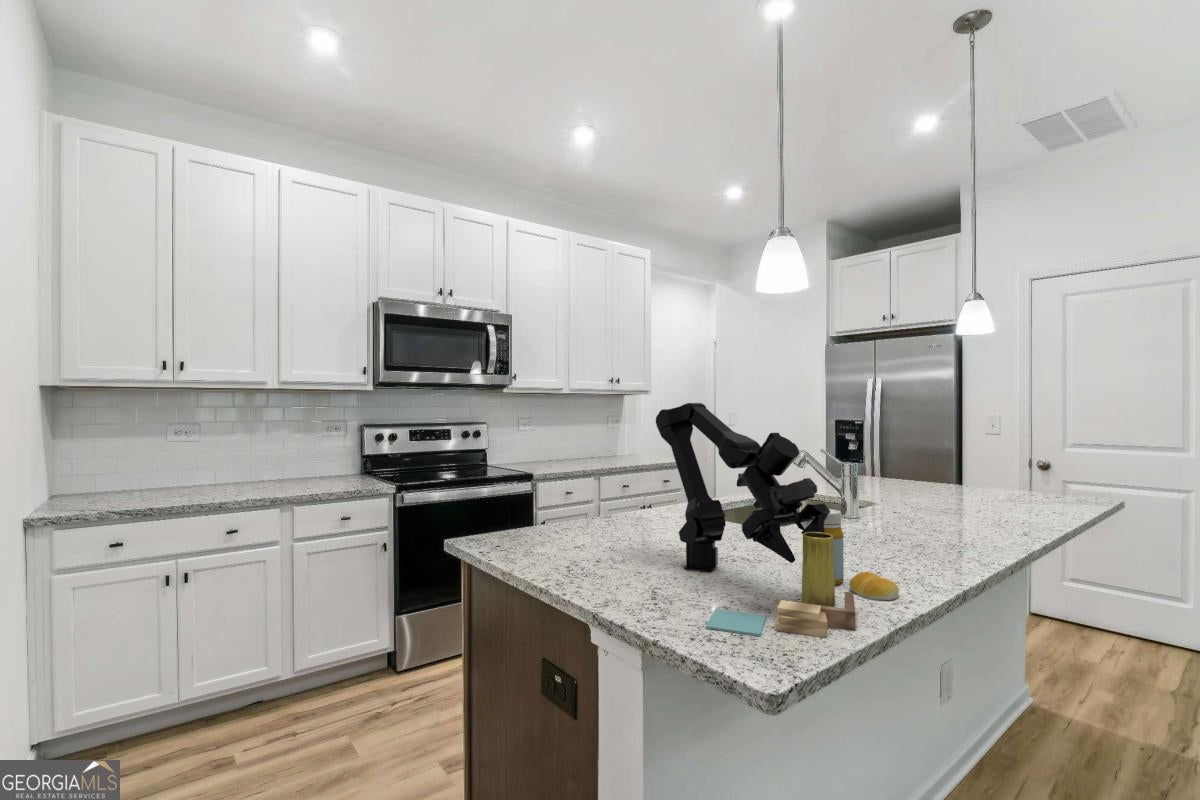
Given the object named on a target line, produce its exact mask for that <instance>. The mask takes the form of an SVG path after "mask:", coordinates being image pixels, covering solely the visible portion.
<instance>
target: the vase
mask: <svg viewBox="0 0 1200 800" xmlns="http://www.w3.org/2000/svg"><path fill="white" fill-rule="evenodd" d="M801 568H802V570H801V572H802V573H801V602H800V603H806V604H813V605H822V606H830V607H836V585H835V578H834V540H833V535H831V534H828V533H822V532H805V533H803V534H802V567H801Z"/></svg>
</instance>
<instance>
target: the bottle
mask: <svg viewBox="0 0 1200 800" xmlns="http://www.w3.org/2000/svg"><path fill="white" fill-rule="evenodd" d="M828 509H829V510H830V513H829V514H828V517H827V519H826V520H825V521H824V531H825V533H828V534H831V535H833V540H834V578H835V586H839V585H840V584H842V582H844V573H845V571H844V570H845V569H844V568H845V567H844V565H845V564H844V563H845V562H844V558H845V557H844V533H843V530H842V511H840V510H838V509H831V508H828Z"/></svg>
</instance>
